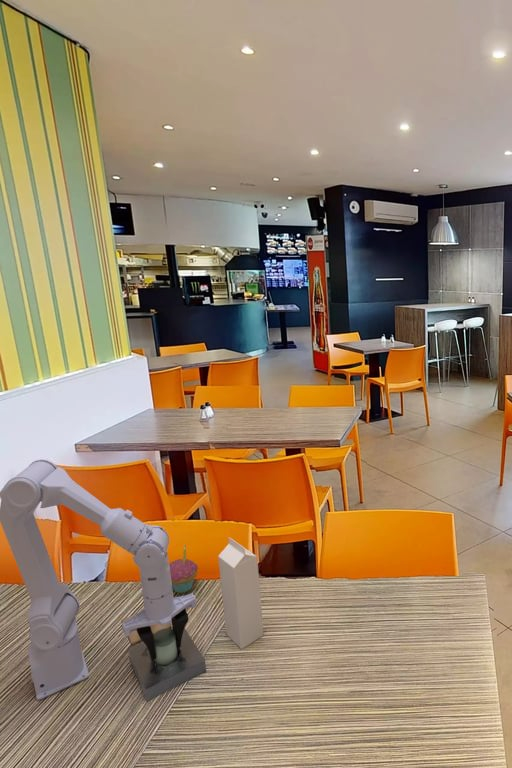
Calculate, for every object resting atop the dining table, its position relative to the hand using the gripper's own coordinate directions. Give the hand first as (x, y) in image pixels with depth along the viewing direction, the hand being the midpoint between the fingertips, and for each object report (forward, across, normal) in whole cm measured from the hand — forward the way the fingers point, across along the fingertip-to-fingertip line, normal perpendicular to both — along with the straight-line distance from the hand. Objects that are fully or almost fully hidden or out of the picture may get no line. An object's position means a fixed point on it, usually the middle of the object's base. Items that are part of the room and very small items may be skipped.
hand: (165, 650), depth 90 cm
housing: (+3, 0, 0) cm, 3 cm away
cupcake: (+4, +12, +22) cm, 25 cm away
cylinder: (+3, 0, 0) cm, 3 cm away
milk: (+4, +17, -2) cm, 17 cm away
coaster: (+3, 0, +14) cm, 14 cm away
